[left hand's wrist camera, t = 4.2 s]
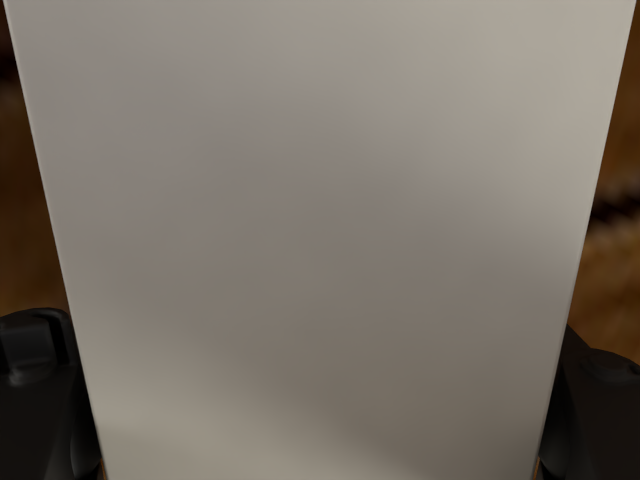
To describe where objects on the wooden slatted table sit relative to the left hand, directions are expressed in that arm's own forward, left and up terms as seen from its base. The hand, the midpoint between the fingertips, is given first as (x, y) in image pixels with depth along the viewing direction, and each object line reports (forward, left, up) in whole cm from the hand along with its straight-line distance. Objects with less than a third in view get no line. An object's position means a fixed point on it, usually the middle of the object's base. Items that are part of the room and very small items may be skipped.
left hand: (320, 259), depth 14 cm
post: (+6, +18, 0) cm, 19 cm away
